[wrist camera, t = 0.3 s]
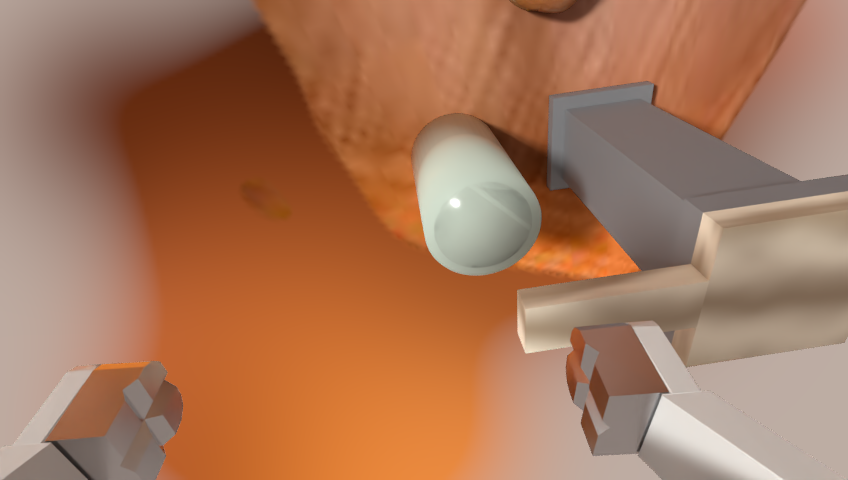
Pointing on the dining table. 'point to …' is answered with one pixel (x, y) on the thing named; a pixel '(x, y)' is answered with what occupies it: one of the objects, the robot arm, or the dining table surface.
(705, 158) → the plinth
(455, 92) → the dining table surface
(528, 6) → the burger
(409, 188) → the dining table surface
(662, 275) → the cutting board
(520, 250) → the crock
